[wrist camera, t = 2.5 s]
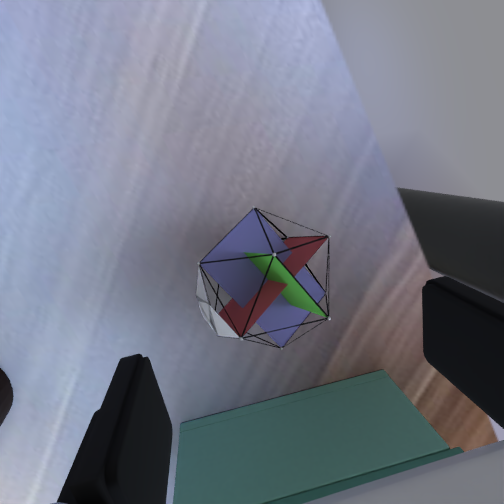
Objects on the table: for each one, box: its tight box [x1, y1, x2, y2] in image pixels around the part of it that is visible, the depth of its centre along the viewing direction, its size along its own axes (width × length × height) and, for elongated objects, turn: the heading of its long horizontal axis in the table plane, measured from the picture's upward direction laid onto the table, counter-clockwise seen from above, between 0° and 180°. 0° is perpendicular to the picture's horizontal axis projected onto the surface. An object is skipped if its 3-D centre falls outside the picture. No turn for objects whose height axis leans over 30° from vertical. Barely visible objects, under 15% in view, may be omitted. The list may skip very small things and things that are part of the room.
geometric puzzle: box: [196, 206, 331, 350], centre depth 17 cm, size 7×7×8 cm
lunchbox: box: [173, 370, 450, 504], centre depth 22 cm, size 16×13×7 cm
